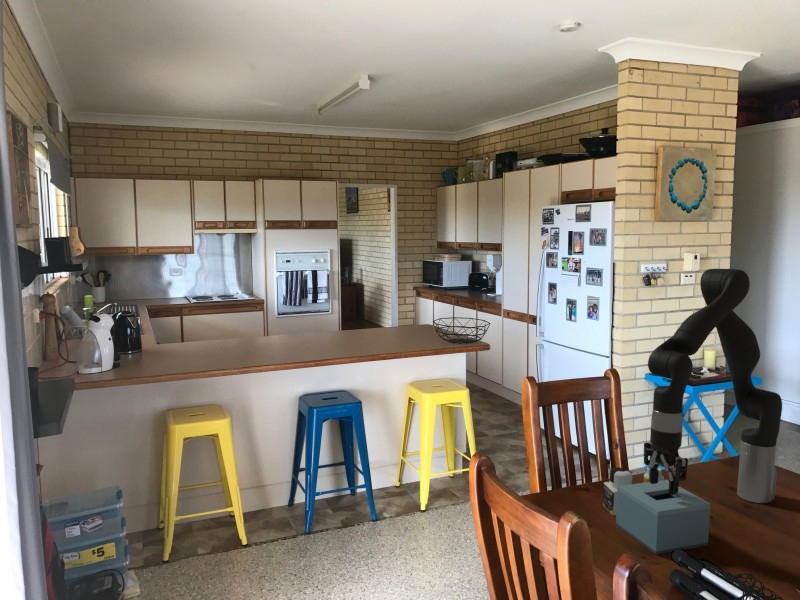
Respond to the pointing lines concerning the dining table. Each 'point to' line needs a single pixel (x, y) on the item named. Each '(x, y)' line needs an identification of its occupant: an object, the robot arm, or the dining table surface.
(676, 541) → the box
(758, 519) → the dining table surface
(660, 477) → the supplement bottle
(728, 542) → the dining table surface
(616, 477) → the medicine bottle
